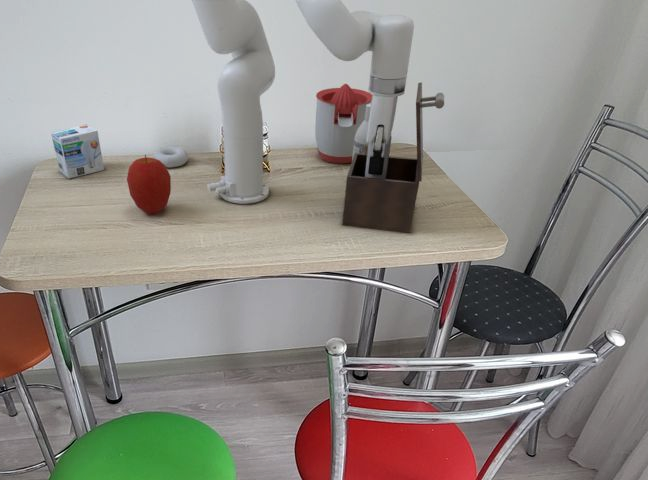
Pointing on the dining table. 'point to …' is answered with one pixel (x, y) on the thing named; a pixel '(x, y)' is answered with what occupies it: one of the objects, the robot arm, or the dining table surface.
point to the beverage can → (386, 155)
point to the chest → (381, 195)
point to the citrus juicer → (339, 121)
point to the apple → (149, 184)
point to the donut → (171, 156)
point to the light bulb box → (78, 151)
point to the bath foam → (362, 135)
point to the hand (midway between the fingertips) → (376, 168)
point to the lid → (419, 123)
